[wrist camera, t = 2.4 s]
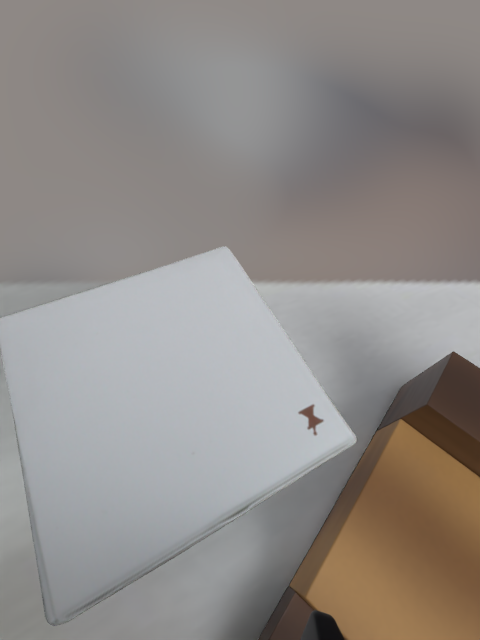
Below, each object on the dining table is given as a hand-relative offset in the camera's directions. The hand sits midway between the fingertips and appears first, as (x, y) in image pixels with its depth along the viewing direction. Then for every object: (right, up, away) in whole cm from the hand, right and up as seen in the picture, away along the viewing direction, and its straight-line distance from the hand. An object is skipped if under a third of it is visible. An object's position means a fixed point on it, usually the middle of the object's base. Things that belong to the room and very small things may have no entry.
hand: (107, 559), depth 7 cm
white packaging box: (0, -3, +12) cm, 12 cm away
